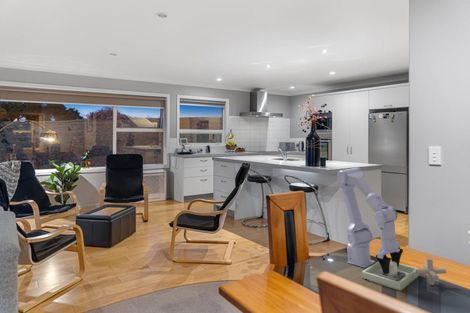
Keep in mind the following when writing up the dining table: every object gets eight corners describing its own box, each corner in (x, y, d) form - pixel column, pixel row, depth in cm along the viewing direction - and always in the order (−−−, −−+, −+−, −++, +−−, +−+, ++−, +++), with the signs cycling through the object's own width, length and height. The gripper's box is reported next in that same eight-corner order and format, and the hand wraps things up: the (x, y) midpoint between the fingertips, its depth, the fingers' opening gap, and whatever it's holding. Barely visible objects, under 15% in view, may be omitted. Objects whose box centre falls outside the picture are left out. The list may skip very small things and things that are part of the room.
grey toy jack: (452, 290, 119) (450, 263, 118) (422, 290, 121) (420, 265, 120) (440, 277, 128) (438, 253, 127) (413, 278, 130) (411, 254, 130)
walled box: (362, 278, 135) (361, 271, 135) (382, 265, 145) (381, 258, 144) (400, 291, 122) (399, 283, 122) (420, 275, 132) (419, 268, 131)
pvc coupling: (385, 277, 132) (384, 263, 132) (390, 274, 135) (389, 260, 134) (395, 280, 129) (393, 266, 128) (400, 277, 131) (398, 262, 131)
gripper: (388, 244, 123) (391, 279, 124) (406, 233, 132) (409, 265, 133) (371, 241, 129) (374, 273, 130) (389, 230, 137) (392, 261, 138)
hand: (391, 269), depth 132 cm, fingers open, 7 cm apart
